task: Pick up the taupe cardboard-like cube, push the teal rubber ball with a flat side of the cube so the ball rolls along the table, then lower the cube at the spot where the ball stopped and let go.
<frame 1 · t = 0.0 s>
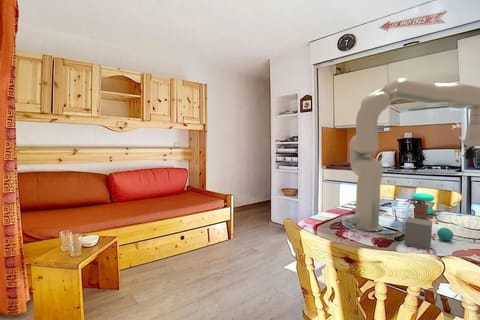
hand: (478, 160, 113), 31 cm above the table, tool pointing down, fingers open, 9 cm apart
taupe cardboard-like cube: (417, 243, 101), on the table
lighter: (417, 218, 135), on the table
ball: (445, 234, 104), on the table
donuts: (422, 212, 146), on the table
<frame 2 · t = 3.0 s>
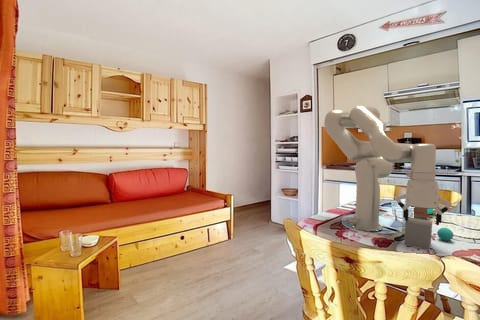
hand: (421, 222, 99), 9 cm above the table, tool pointing down, fingers open, 9 cm apart
taupe cardboard-like cube: (417, 244, 101), on the table, touching gripper
everything else where it was.
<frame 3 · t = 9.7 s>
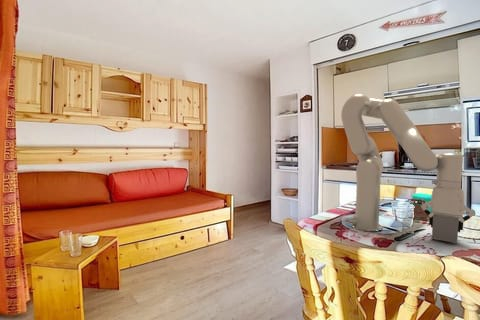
hand: (445, 228, 104), 5 cm above the table, tool pointing down, fingers closed on taupe cardboard-like cube, 7 cm apart
taupe cardboard-like cube: (444, 237, 104), point 1 cm above the table, touching gripper
ball: (447, 228, 112), on the table
everything else where it was.
when the fingers open (4 cm above the table, at t = 16.5 s): taupe cardboard-like cube stays where it is, on the table.
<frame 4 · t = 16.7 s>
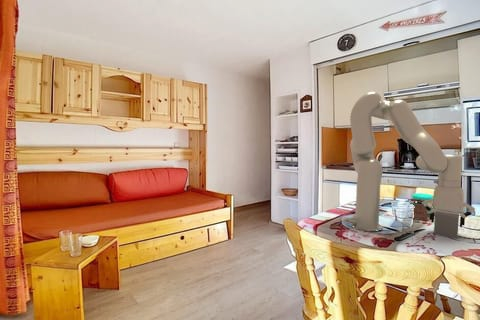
hand: (446, 224, 112), 4 cm above the table, tool pointing down, fingers open, 9 cm apart
taupe cardboard-like cube: (445, 233, 112), on the table
everything else where it was.
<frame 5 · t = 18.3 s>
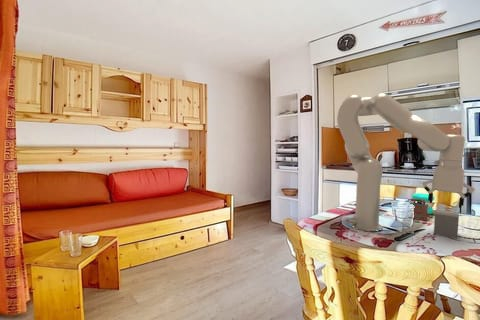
hand: (444, 204, 111), 12 cm above the table, tool pointing down, fingers open, 9 cm apart
nothing on the table moved.
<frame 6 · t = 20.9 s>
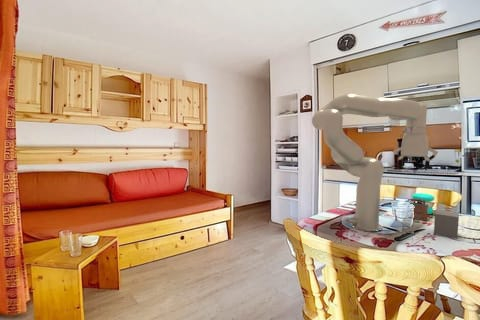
hand: (413, 169, 122), 26 cm above the table, tool pointing down, fingers open, 9 cm apart
nothing on the table moved.
at the end: ball 0.5 cm from the taupe cardboard-like cube (horizontally); taupe cardboard-like cube on the table; ball moved 9.9 cm from its start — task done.
